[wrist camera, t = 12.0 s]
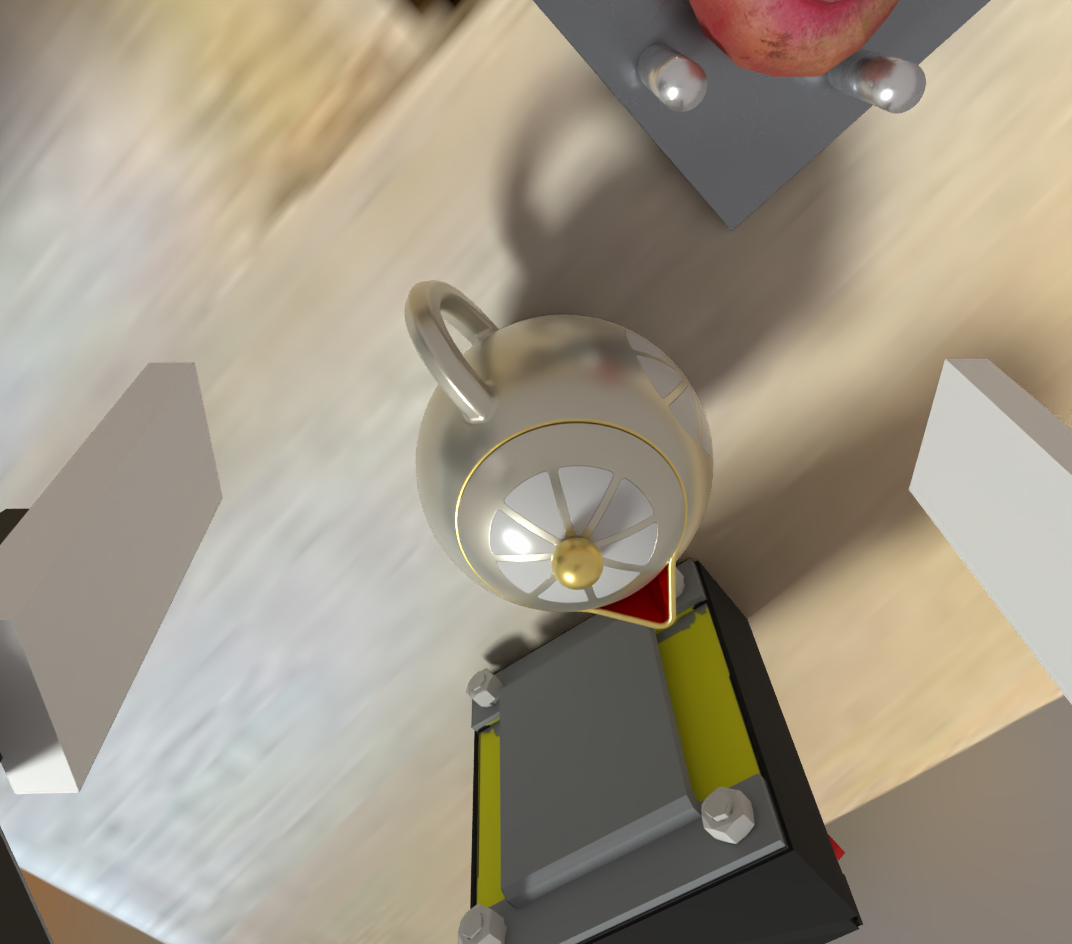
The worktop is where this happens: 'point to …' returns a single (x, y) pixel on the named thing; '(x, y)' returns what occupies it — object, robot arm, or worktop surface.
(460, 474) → the teapot
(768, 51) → the fruit
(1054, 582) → the robot arm
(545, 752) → the electrical component
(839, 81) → the grey square pegged plate
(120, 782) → the worktop surface
